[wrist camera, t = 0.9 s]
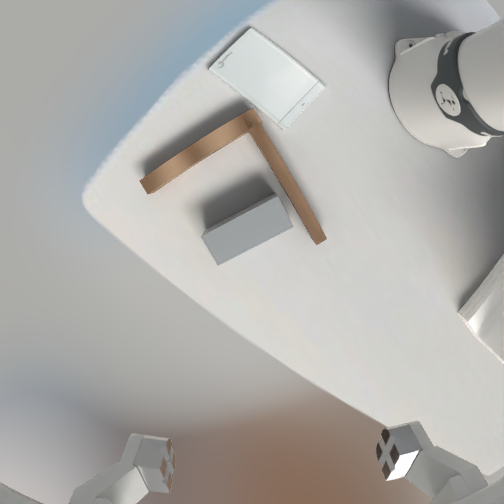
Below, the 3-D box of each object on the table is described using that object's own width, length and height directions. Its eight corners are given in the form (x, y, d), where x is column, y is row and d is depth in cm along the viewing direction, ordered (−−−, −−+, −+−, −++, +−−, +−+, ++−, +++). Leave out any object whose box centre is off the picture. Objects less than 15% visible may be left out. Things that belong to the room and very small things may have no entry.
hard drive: (207, 68, 33) (284, 130, 35) (251, 26, 31) (327, 85, 33) (209, 72, 35) (283, 132, 37) (251, 31, 33) (324, 88, 35)
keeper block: (275, 192, 39) (278, 196, 35) (289, 220, 40) (293, 226, 36) (205, 229, 40) (201, 236, 36) (221, 255, 41) (217, 265, 37)
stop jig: (252, 111, 35) (252, 107, 33) (324, 233, 40) (328, 237, 37) (146, 179, 38) (139, 180, 35) (219, 292, 42) (218, 300, 40)
